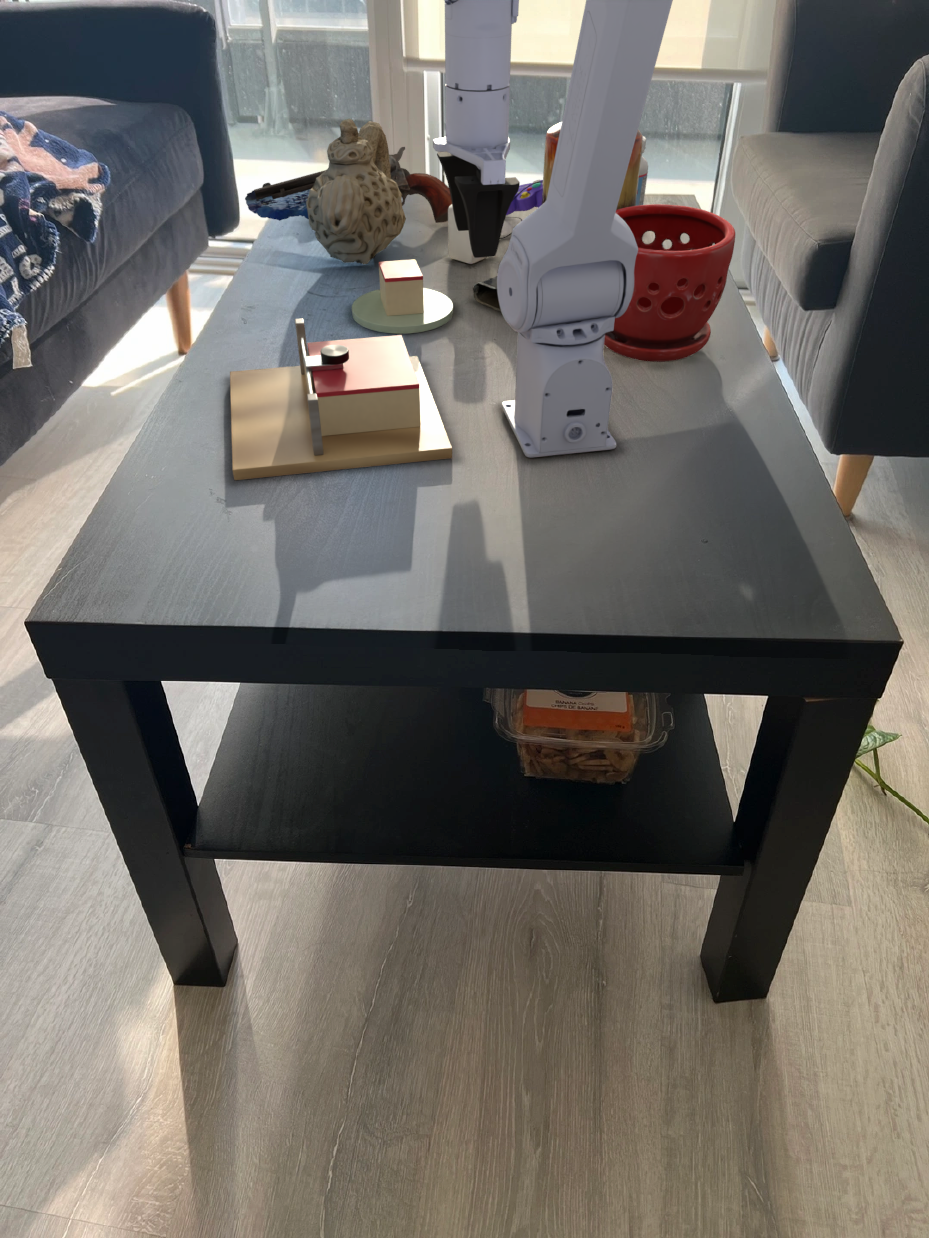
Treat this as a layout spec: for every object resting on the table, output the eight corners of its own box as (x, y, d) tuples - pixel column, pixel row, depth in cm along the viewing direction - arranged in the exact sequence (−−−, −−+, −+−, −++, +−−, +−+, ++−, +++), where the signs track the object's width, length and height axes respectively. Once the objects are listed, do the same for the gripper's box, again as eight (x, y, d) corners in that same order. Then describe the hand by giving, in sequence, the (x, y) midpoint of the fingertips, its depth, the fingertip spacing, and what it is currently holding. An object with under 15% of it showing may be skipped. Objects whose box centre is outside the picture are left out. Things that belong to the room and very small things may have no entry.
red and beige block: (420, 427, 80) (419, 384, 77) (320, 436, 79) (315, 393, 76) (403, 375, 87) (401, 334, 85) (311, 383, 86) (306, 342, 83)
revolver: (469, 220, 125) (441, 145, 127) (470, 202, 121) (441, 125, 123) (281, 273, 122) (255, 196, 124) (276, 256, 118) (250, 177, 121)
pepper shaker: (471, 266, 112) (472, 182, 106) (446, 259, 114) (445, 176, 107) (492, 257, 114) (494, 174, 108) (466, 250, 116) (467, 168, 110)
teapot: (384, 290, 105) (377, 146, 96) (287, 283, 107) (269, 140, 97) (424, 229, 121) (421, 100, 111) (338, 223, 123) (328, 95, 113)
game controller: (467, 210, 116) (486, 171, 122) (489, 268, 122) (505, 229, 128) (542, 192, 112) (558, 153, 118) (561, 254, 118) (575, 213, 123)
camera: (503, 288, 107) (504, 250, 104) (568, 315, 101) (572, 277, 98) (470, 299, 104) (471, 261, 101) (535, 328, 98) (538, 289, 95)
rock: (334, 169, 135) (335, 183, 136) (232, 194, 127) (234, 209, 128) (396, 189, 126) (397, 204, 128) (291, 218, 118) (293, 234, 119)
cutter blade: (359, 428, 78) (355, 377, 75) (314, 433, 78) (308, 381, 75) (345, 371, 87) (341, 323, 84) (305, 375, 86) (299, 326, 83)
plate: (462, 329, 98) (462, 322, 97) (358, 337, 96) (357, 330, 96) (443, 290, 106) (443, 283, 106) (347, 297, 104) (346, 290, 104)
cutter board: (452, 458, 78) (452, 393, 74) (234, 480, 75) (222, 413, 71) (417, 365, 91) (415, 305, 87) (231, 381, 89) (221, 320, 85)
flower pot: (574, 321, 100) (583, 204, 92) (693, 317, 100) (713, 201, 93) (599, 376, 90) (612, 250, 82) (731, 371, 91) (757, 246, 83)
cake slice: (424, 313, 99) (423, 276, 96) (386, 316, 98) (384, 278, 96) (416, 295, 103) (415, 259, 100) (380, 298, 102) (378, 261, 99)
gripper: (419, 70, 87) (422, 221, 96) (448, 105, 76) (449, 271, 85) (493, 67, 88) (489, 217, 97) (532, 102, 77) (524, 266, 86)
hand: (475, 242), depth 91 cm, fingers open, 7 cm apart
